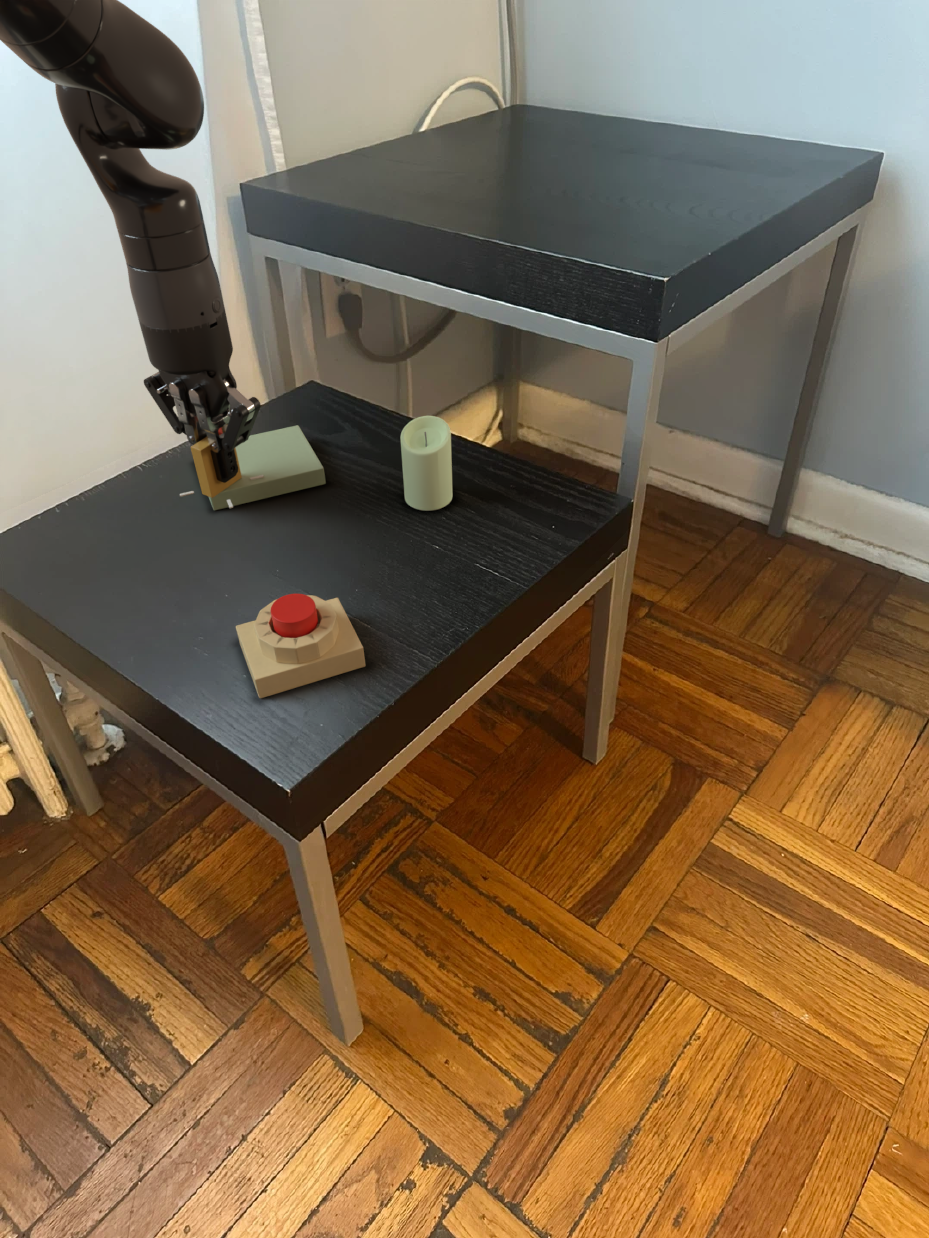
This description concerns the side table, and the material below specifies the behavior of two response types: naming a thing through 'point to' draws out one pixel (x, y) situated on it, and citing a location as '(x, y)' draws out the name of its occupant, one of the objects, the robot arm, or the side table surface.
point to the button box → (300, 649)
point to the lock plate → (271, 468)
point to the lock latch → (210, 469)
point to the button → (294, 615)
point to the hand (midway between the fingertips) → (220, 475)
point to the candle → (427, 463)
